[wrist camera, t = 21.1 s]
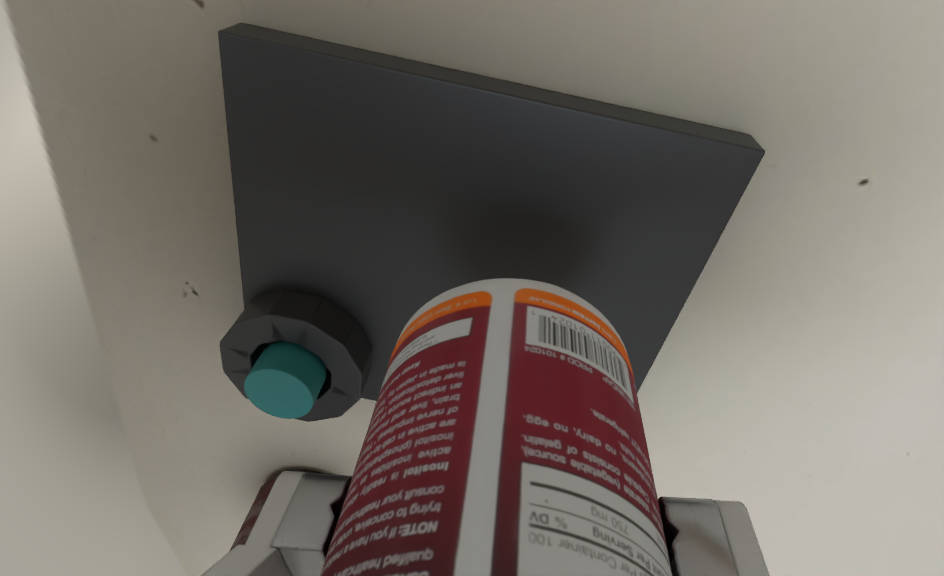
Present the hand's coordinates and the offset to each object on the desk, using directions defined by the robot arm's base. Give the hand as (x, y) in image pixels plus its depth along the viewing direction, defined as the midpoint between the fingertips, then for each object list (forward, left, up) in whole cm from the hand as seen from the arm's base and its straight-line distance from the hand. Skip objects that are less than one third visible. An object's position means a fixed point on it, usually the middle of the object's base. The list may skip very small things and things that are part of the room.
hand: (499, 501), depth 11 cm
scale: (-2, -1, -10) cm, 11 cm away
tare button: (-9, -4, -8) cm, 12 cm away
